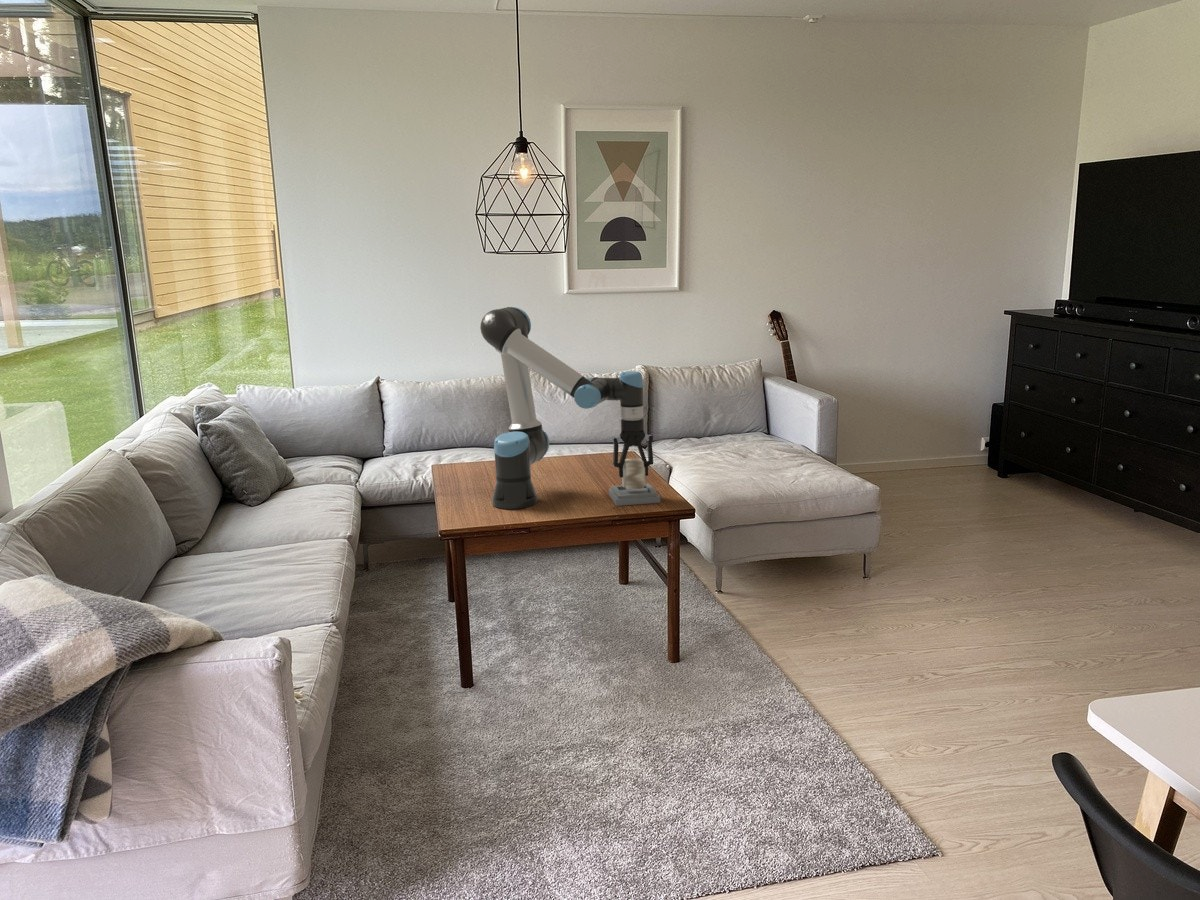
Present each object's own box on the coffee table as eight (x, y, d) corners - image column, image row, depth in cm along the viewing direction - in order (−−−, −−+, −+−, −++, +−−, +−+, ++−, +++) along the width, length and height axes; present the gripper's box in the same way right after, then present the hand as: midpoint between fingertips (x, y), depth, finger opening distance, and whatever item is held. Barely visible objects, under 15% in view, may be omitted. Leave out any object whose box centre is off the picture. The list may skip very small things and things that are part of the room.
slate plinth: (615, 505, 288) (615, 497, 287) (608, 493, 302) (608, 485, 302) (660, 502, 290) (660, 493, 289) (651, 490, 304) (651, 482, 304)
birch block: (626, 489, 292) (625, 463, 290) (623, 484, 298) (622, 459, 296) (644, 488, 293) (643, 462, 291) (640, 483, 299) (640, 457, 297)
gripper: (605, 422, 285) (607, 490, 290) (662, 418, 288) (663, 486, 293) (602, 418, 292) (604, 484, 298) (657, 414, 295) (659, 481, 300)
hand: (633, 485), depth 295 cm, fingers closed on birch block, 6 cm apart
